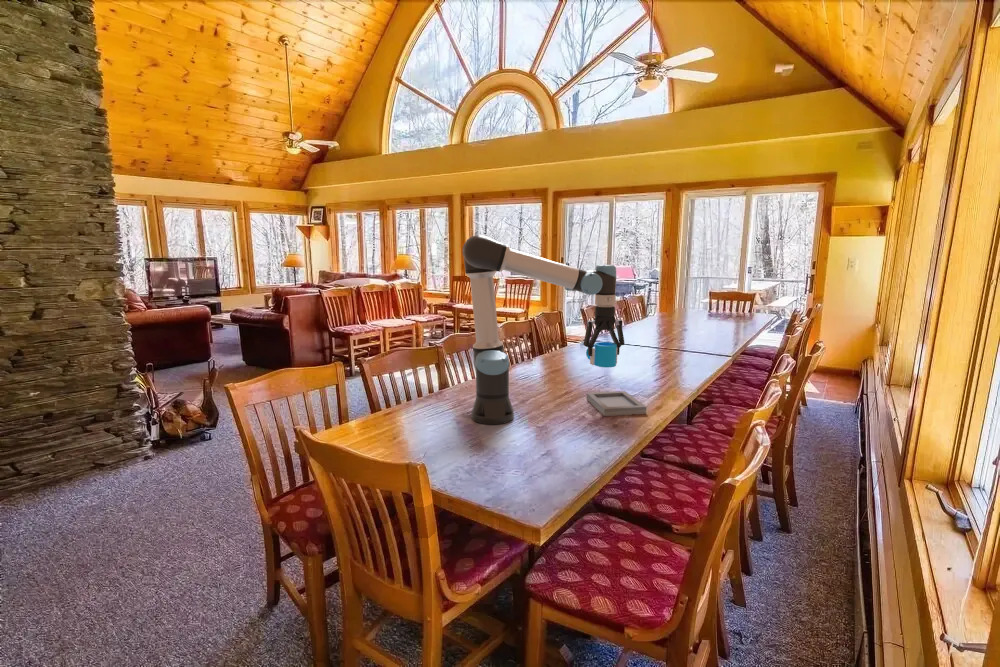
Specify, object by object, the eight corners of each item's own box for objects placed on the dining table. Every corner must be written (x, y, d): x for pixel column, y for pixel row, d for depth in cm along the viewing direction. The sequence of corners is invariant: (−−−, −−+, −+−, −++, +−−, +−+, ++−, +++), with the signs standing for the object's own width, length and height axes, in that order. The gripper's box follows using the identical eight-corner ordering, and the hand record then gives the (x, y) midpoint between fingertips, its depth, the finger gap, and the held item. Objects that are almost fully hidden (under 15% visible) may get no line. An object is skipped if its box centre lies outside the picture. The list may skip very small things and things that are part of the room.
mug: (618, 364, 192) (619, 343, 191) (611, 368, 186) (612, 347, 184) (589, 360, 199) (590, 340, 197) (581, 364, 192) (582, 343, 190)
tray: (604, 416, 179) (604, 409, 178) (586, 399, 198) (586, 393, 198) (646, 413, 181) (646, 406, 181) (624, 397, 201) (624, 391, 200)
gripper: (581, 307, 183) (580, 367, 187) (635, 306, 186) (633, 364, 190) (575, 305, 190) (574, 362, 194) (627, 303, 194) (625, 360, 198)
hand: (603, 363), depth 192 cm, fingers closed on mug, 8 cm apart
